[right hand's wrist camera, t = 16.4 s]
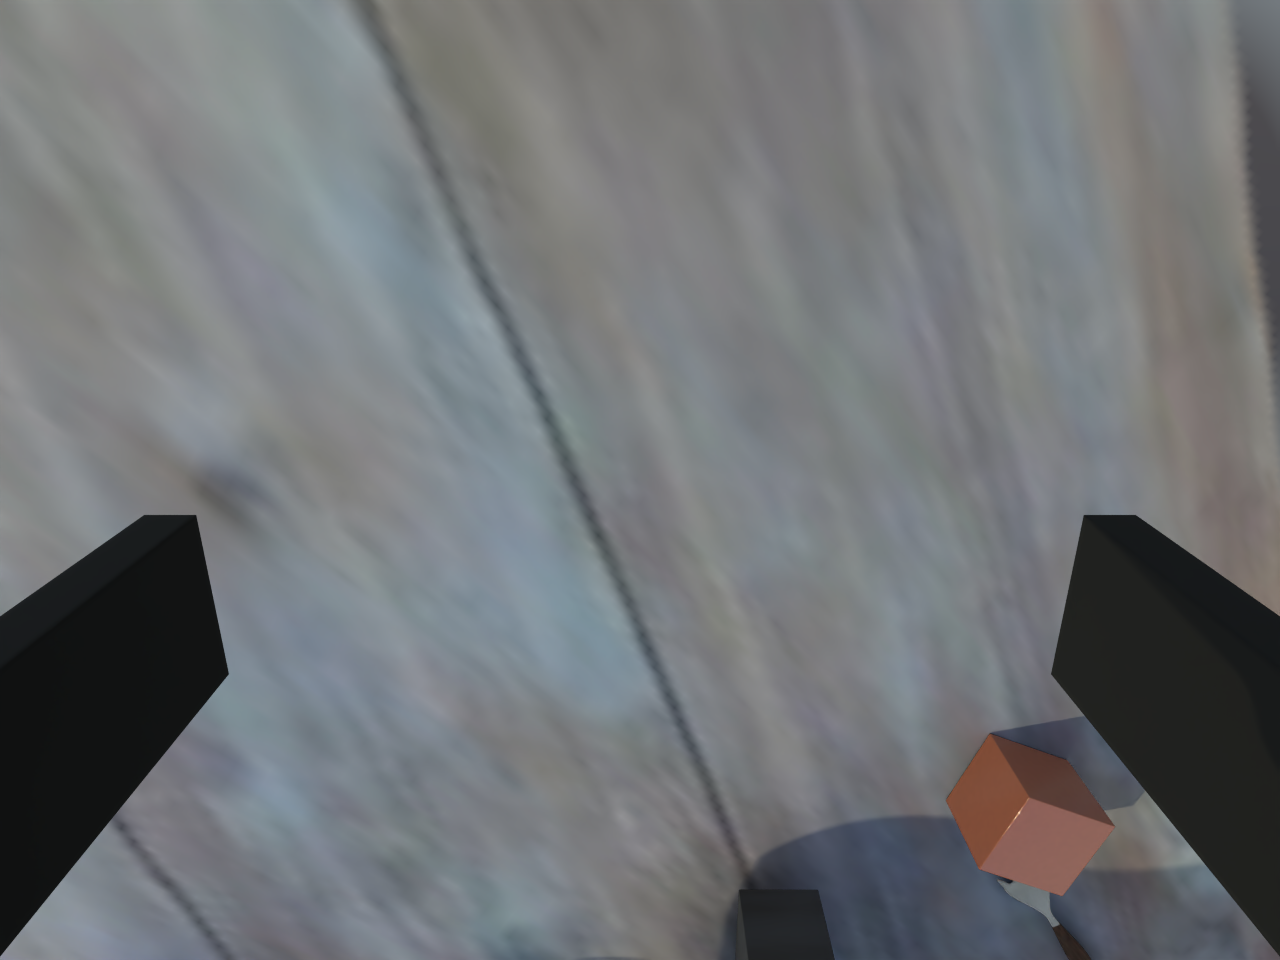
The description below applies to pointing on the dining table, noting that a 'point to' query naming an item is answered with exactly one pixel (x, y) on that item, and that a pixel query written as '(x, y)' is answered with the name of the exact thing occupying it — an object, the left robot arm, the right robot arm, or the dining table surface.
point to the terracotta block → (1027, 815)
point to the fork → (1046, 915)
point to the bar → (781, 926)
